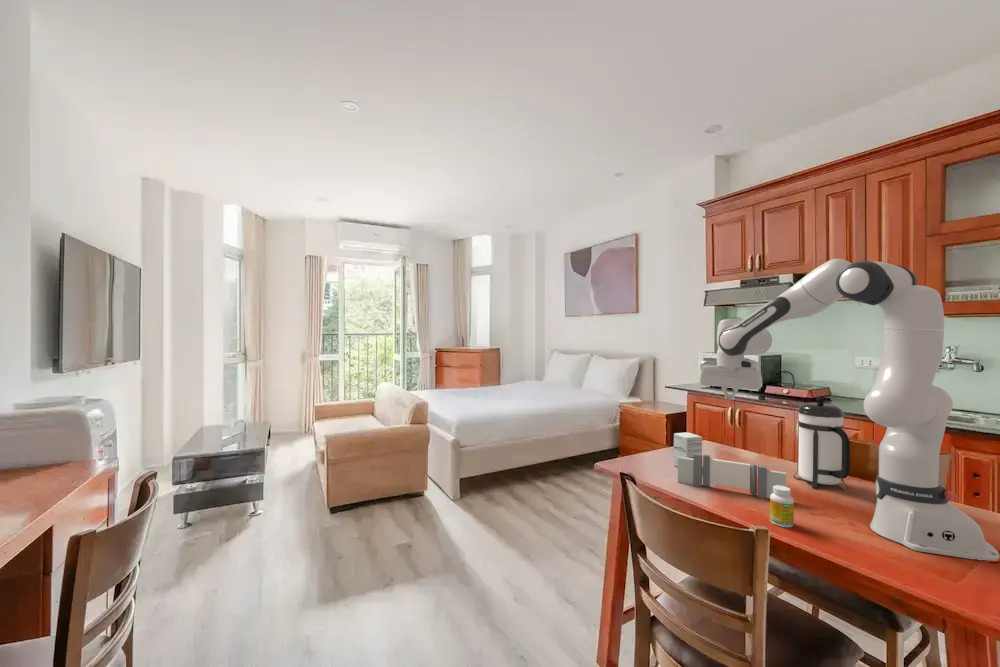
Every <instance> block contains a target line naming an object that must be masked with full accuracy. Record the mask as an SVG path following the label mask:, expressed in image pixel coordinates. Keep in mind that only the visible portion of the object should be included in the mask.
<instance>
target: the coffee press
mask: <svg viewBox="0 0 1000 667" xmlns="http://www.w3.org/2000/svg"><path fill="white" fill-rule="evenodd" d="M815 400H816V402H805V403H803V404H801V405H800V406H799V408H798V409H797V413H798V419H797V426H798V427H797V470H796V472H795V474H794V475H793V478H794V479H795V478H797V479H796V480H799V479H801V478H802V479H803V480H805V481H808V482H811V488H812V489H814V488H815V489H814V490H818V489H817V488H819V484H820V485H829V486H831V485H832V486H833V485H836V486H838V487H840V488H841V489H842V488H844V487H843V485H844V486H845V488H846V490H847V489H848V487H849V486H848V485H847V483H846V482H845V480H844V479H846V478H847V477H849V474H850V469H851V468H850V467H851V466H850V465H851V463H850V462H851V451H850V450H851V448H850V447H851V446H850V445H851V444H850V440H849V437H848V434H847V433H846V431H845V429H844V425H845V424H844V421H843V420H844V417H845V413H844V412H843V411H842V409H841V408H840V407H839V406H837V405H834V404H830V403H824V402H825V398H824V397H823V396H820V395H819V396H817V397H816V398H815ZM796 474H798V475H799V477H797V476H796ZM841 483H843V485H841Z"/></svg>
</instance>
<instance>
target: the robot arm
mask: <svg viewBox="0 0 1000 667" xmlns="http://www.w3.org/2000/svg"><path fill="white" fill-rule="evenodd" d="M843 297H845V298H846V299H848V300H850V301H853V302H857V303H862V304H866V305H869V306H876V305H877V306H879V307H880V308H881V309H882V311H883V312H882V313H883V330H882V331H883V332H882V347H881V358H880V363H879V367H878V369H877V372H876V375H875V378H874V381H873V384H872V388H871V389H870V391H869V393H867V395H866V396H865V398H864V400H863V410H864V413H865V414H866V416H867V417H868V418H869V419H870V420H871V421H872V422H874V423H875V424H877V425H880V426H881V427H885V428H886V430H885V433H884V436H883V438H882V440H881V442H880V443H879V446H878V474H876V479H875V496H876V497H877V498H876V504H875V505H876V506H875V509H874V514H873V517H872V519H871V522H870V524H869V527H870V529H871V530H872V531H873V532H875V533H876V534H878V535H880V536H882V537H883V538H886V539H888V540H890V541H893V542H896V543H899V544H901V545H903V546H905V547H907V548H909V549H911V550H913V551H916V552H922V553H929V554H934V555H943V556H949V557H956V558H962V559H963V558H964V559H969V560H975V559H977V560H978V561H982V560H998V559H999V558H1000V553H999V552H998V550H997V548H995V547H994V546H993V545H992V544H991V543H989V542H987V541H986V539H985V536H984V533H983V530H982V528H981V527H980V525H979V524H978V523H977V522H976V521H975V520H974V519H973V518H972V517H970V516H969V515H967V514H966V513H965V512H964V511H962V510H961V509H959V507H956V506H955V505H954V504H952V503H953V502H957V501H958V499H959V496H958V495H957V494H956V493H955V492H953V491H950V490H949V489H948V488H946V487H944V486H943V485H941V484H939V477H940V476H939V473H940V472H939V469H940V468H939V467H940V466H939V465H940V452H941V447H942V444H943V439H944V436H945V431H946V427H947V423H948V417H949V416H950V414H951V412H952V410H953V406H954V404H953V400H952V398H951V396H950V395H949V393H948V392H947V391H945V390H944V389H943V388H941V387H938V386H937V385H934V384H933V382H934V379H935V376H936V373H937V372H938V369H939V367H940V366H941V364H942V362H943V352H944V351H943V350H944V337H945V336H944V334H945V312H944V306H943V300H942V297H941V293H940V292H939V291H938V290H936V289H934V288H933V287H930V286H927V285H920V284H919V285H918V279H917V276H916V275H915V273H914V272H913V271H912V270H910V269H909V268H907V267H905V266H902V265H898V264H897V265H896V264H891V263H888V262H885V261H869V260H862V261H861V260H860V261H856V262H853V263H852V262H851V261H848V260H846V259H843V258H833V259H829V260H827V261H825V262H824V263H822V264H821V265H819V266H817V267H815V268H814V269H813V270H811V271H809V273H807V274H806V275H805V276H803V277H802V278H801V279H799V280H798V281H797V282H795V283H794V284H793V285H792V286H790V287H789V288H788V289H786V290H785V291H784V292H782V293H780V294H779V295H778V296H776V297H775V298H773V299H771V300H770V301H768V302H767V303H765V304H763V305H762V306H761V307H759V308H758V309H756V310H755V311H754V312H752V313H751V314H749V315H747V316H746V317H745V318H741V317H726V318H724V319H722V320H720V321H719V322H718V325H717V331H716V344H717V351H716V360H704V361H702V362H701V363H700V365H699V369H700V370H699V371H700V377H699V378H700V379H699V382H700V384H701V386H710V387H721V391H722V392H723V394H724V400H730V401H731V400H732V401H735V399H736V395H737V393H738V391H739V389H749V390H760V389H761V388H762V387H763V376H762V372H761V370H760V369H759V368H758V367H759V362H758V361H756V360H753V359H749V358H748V357H747V358H746V357H745V355H759V354H764V353H766V352H767V351H768V350H770V348H771V346H772V342H773V340H772V335H771V333H770V332H769V331H768V329H769V327H771V326H773V325H776V324H778V323H780V322H784V321H788V320H795V319H803V318H808V317H812V316H814V315H817V314H818V313H821V312H822V311H825V310H826V309H827V308H829V307H830V306H831V305H833V304H834V303H836V302H837V301H839V300H840V299H841V298H843ZM728 388H732V391H733V393H729V392H728V391H727V390H728ZM951 502H952V503H951ZM977 560H976V561H977Z"/></svg>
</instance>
